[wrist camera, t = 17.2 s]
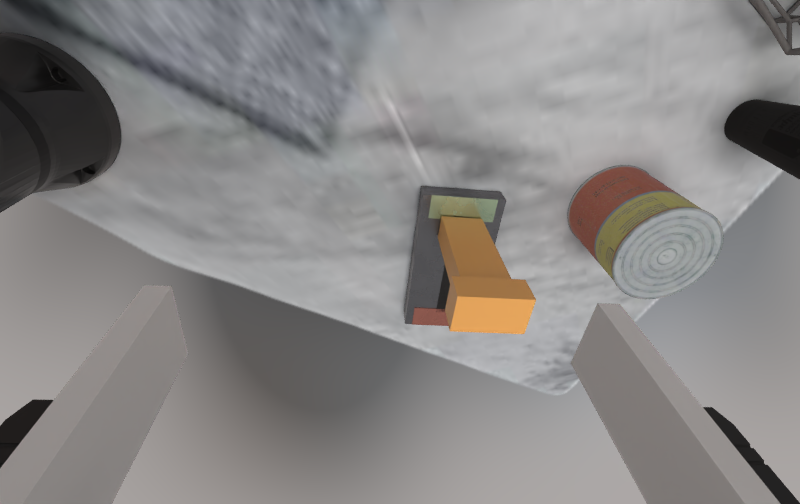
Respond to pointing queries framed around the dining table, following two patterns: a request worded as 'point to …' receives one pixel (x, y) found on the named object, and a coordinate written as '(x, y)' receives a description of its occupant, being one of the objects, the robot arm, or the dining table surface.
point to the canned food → (644, 232)
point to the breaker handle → (480, 281)
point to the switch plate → (427, 260)
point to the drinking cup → (768, 132)
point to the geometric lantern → (772, 23)
